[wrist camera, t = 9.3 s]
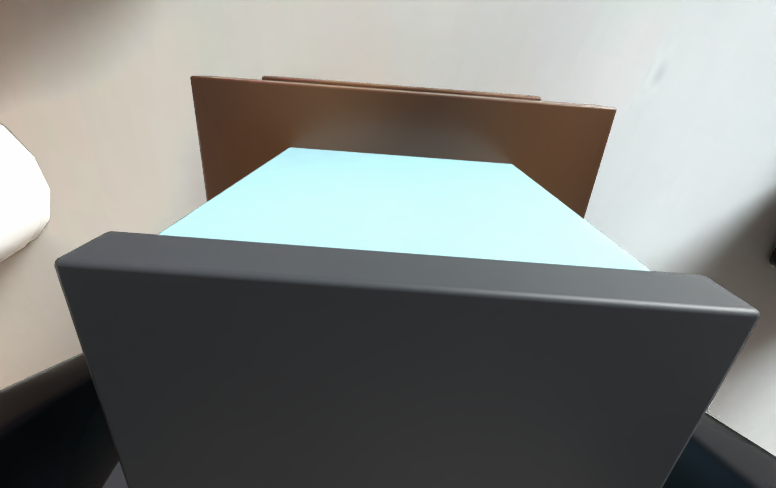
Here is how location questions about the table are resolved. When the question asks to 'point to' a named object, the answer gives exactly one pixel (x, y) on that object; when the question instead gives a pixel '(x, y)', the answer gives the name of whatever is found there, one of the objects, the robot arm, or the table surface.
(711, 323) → the container
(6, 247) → the foam cup
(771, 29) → the table surface
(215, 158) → the brown square pedestal
